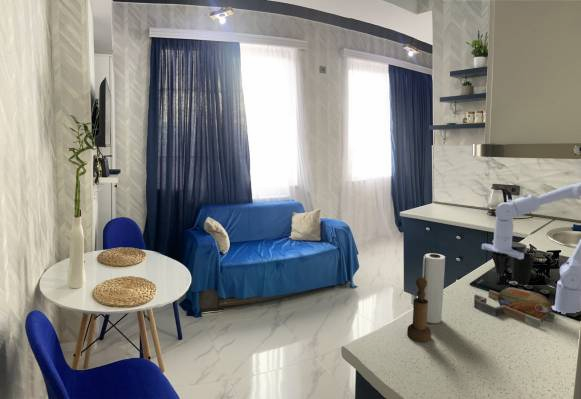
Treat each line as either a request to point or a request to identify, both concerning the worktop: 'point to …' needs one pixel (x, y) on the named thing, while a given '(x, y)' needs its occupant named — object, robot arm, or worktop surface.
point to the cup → (522, 268)
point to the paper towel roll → (434, 285)
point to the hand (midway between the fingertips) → (499, 273)
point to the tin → (525, 302)
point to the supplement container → (519, 248)
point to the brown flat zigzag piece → (507, 310)
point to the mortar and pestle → (420, 315)
